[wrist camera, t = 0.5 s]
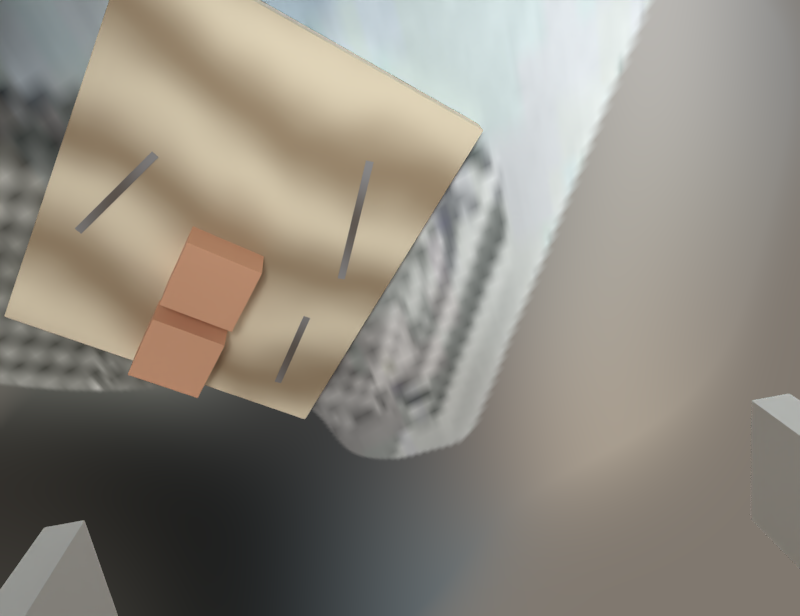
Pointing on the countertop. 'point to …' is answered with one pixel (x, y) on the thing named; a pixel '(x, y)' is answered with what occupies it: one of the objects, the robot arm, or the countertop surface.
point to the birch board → (235, 187)
